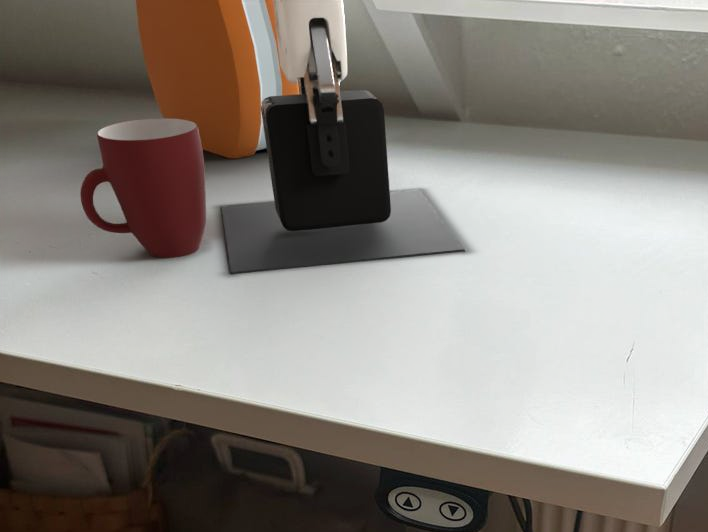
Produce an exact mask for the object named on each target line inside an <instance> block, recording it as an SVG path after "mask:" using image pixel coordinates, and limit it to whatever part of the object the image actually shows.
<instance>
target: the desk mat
mask: <svg viewBox="0 0 708 532" xmlns="http://www.w3.org/2000/svg"><path fill="white" fill-rule="evenodd" d="M390 204H391V213H390V217H389V218H388V219H387V220H386V221H384V222H380V223H370V224H360V225H350V226H340V227H330V228H321V229H311V230H301V231H289V230H287V229H285V228H284V227H283V225H282V223H281V221H280V218H279V216H278V214H277V212H276V209H275V202H274V200H273V201H264V202H263V201H262V202H261V201H260V202H250V203H238V204H228V205H221V206H220V207H221V208H220V209H221V214H222V221H223V226H224V227H223V229H224V236H225V243H226V244H225V245H226V250H227V257H228V265H229V272H230V275H239V274H248V273H250V274H251V273H258V272H259V273H260V272H269V271H270V272H271V271H280V270H281V271H282V270H291V269H299V268H309V267H310V268H311V267H322V266H331V265H340V264H341V265H342V264H350V263H351V264H352V263H360V262H361V263H362V262H371V261H382V260H391V259H402V258H412V257H413V258H414V257H423V256H434V255H444V254H455V253H463V252H466V248H465V247H464V246H463V245H462V244H461V242H460V241H459V240H458V238H457V236H455V234H454V232H452V230H451V229H450V227H449V226H448V225H447V223H446V222H445V221H444V219H443V218H442V217H441V215H440V214H439V212H438V211H437V209H436V208H435V207H434V205H432V203H431V202H430V201H429V200H428V198H427V196H425V194H424V193H423V191H422V190H421V189H420V188H416V189H415V188H414V189H405V190H394V191H393V190H392V191H391V190H390Z"/></svg>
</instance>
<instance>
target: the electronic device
mask: <svg viewBox="0 0 708 532" xmlns="http://www.w3.org/2000/svg"><path fill="white" fill-rule="evenodd" d="M314 94H315V93H313V95H314ZM340 96H341V104H342V113H343V121H345V127H346V137H347V148H348V158H349V172H348V173H347V174H339V175H326V176H315V175H314V174H313V172H312V166H311V157H310V149H309V140H308V132H307V124H309V123H310V120H309V113H308V105H307V98H306V94H300V93H299V94H297V95H283V96H270V97H267V98H265V99H264V100H263V101H262V102H261V104H262V105H261V112H262V119H263V126H264V133H265V140H266V147H267V149H266V154H267V160H268V166H269V174H270V181H271V188H272V196H273V201H274V202H275V209H276V212H277V214H278V216H279V218H280V221H281V223H282V225H283V227H284V228H285V229H287V230H289V231H301V230H311V229H321V228H330V227H340V226H350V225H360V224H370V223H380V222H384V221H386V220H387V219H388V218H389V217H390V213H391V204H390V192H391V190H390V177H389V162H388V149H387V135H386V122H385V121H386V119H385V109H384V106H383V103H382V102H381V101H380V100H379V99H378V98H377V97H376V96H374V95H373V94H372V93H371V91H369V90H365V89H355V90H354V89H353V90H342V91H341V90H340Z"/></svg>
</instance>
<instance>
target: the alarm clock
mask: <svg viewBox="0 0 708 532" xmlns="http://www.w3.org/2000/svg"><path fill="white" fill-rule="evenodd" d="M135 7H136V16H137V17H136V18H137V27H138V34H139V38H140V44H141V50H142V55H143V58H144V65H145V69H146V72H147V75H148V79H149V82H150V85H151V89H152V91H153V94H154V98H155V101H156V103H157V105H158V108H159V111H160V112H161V115H162V118H168V119H182V120H188V121H192V122H194V123H196V124H197V126H198V130H199V135H200V140H201V145H202V150H203V151H207V152H210V153H213V154H215V155H218V156H221V157H224V158H227V159H241V158H245V157H252V156H254V155H255V153H256V152H257V151H260V150H264V149H266V150H267V147H266V140H265V133H264V126H263V119H262V112H261V105H262V104H261V102H262V101H263V100H264V99H265V98H267V97H270V96H283V95H297V94H300V85H299V79H297V84H292V83H291V82H290V81H289V80H288V79H287V78H286V76H285V75H284V73H283V71H282V68H281V65H280V58H279V48H278V39H277V30H276V22H275V13H274V5H273V0H135Z"/></svg>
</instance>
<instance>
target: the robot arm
mask: <svg viewBox="0 0 708 532" xmlns="http://www.w3.org/2000/svg"><path fill="white" fill-rule="evenodd" d="M273 5H274V13H275V22H276V30H277V39H278V48H279V58H280V65H281V68H282V71H283V73H284V75H285V76H286V78H287V79H288V80H289V81H290V82H291V83H292V84H297V80H298V86H299V94H306V98H307V105H308V113H309V120H310V123H309V124H307V132H308V140H309V149H310V157H311V166H312V172H313V174H314V175H315V176H326V175H339V174H347V173H348V172H349V158H348V148H347V137H346V127H345V121H343V113H342V104H341V96H340V91H341V89H340V82H343V81H344V80H345V78H347V76H348V52H347V50H348V49H347V36H346V35H347V34H346V22H345V10H344V9H345V8H344V0H273ZM313 93H315V94H314V95H313Z"/></svg>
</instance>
